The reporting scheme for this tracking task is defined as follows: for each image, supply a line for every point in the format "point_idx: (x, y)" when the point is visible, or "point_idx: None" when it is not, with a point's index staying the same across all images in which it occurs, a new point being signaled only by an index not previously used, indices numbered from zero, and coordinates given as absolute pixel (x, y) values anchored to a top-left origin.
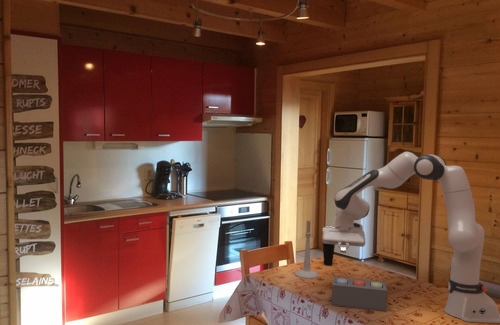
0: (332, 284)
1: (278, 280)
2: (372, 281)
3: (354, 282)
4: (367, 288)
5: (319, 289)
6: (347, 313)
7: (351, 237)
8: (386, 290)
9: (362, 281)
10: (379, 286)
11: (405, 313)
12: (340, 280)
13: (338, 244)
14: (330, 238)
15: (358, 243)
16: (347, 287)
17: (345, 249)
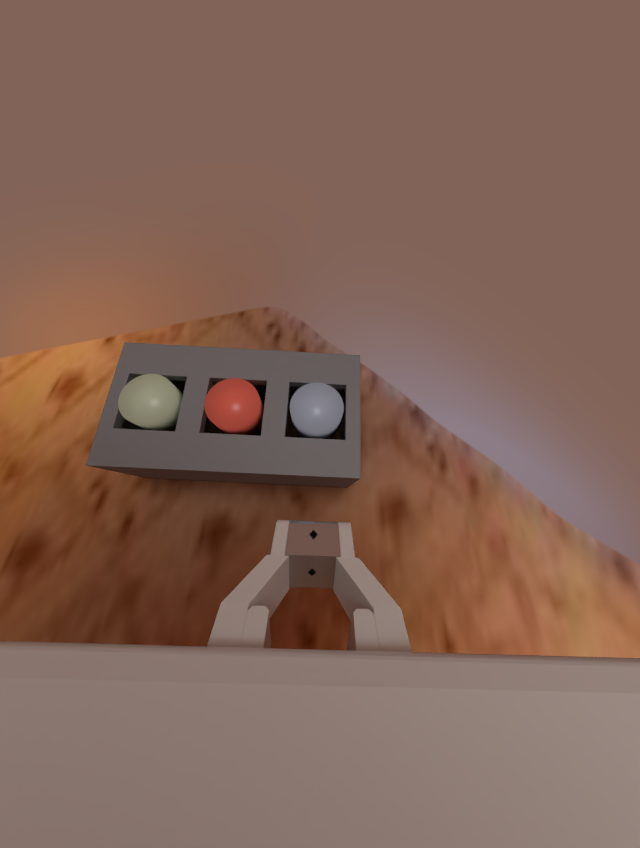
0: (359, 360)
1: (616, 633)
2: (155, 452)
3: (256, 390)
4: (207, 348)
5: (406, 551)
6: (298, 342)
7: (51, 841)
8: (125, 344)
9: (213, 409)
10: (142, 378)
11: (107, 382)
12: (324, 395)
13: (391, 598)
14: (622, 709)
15: (16, 650)
16: (293, 354)
17: (285, 534)
